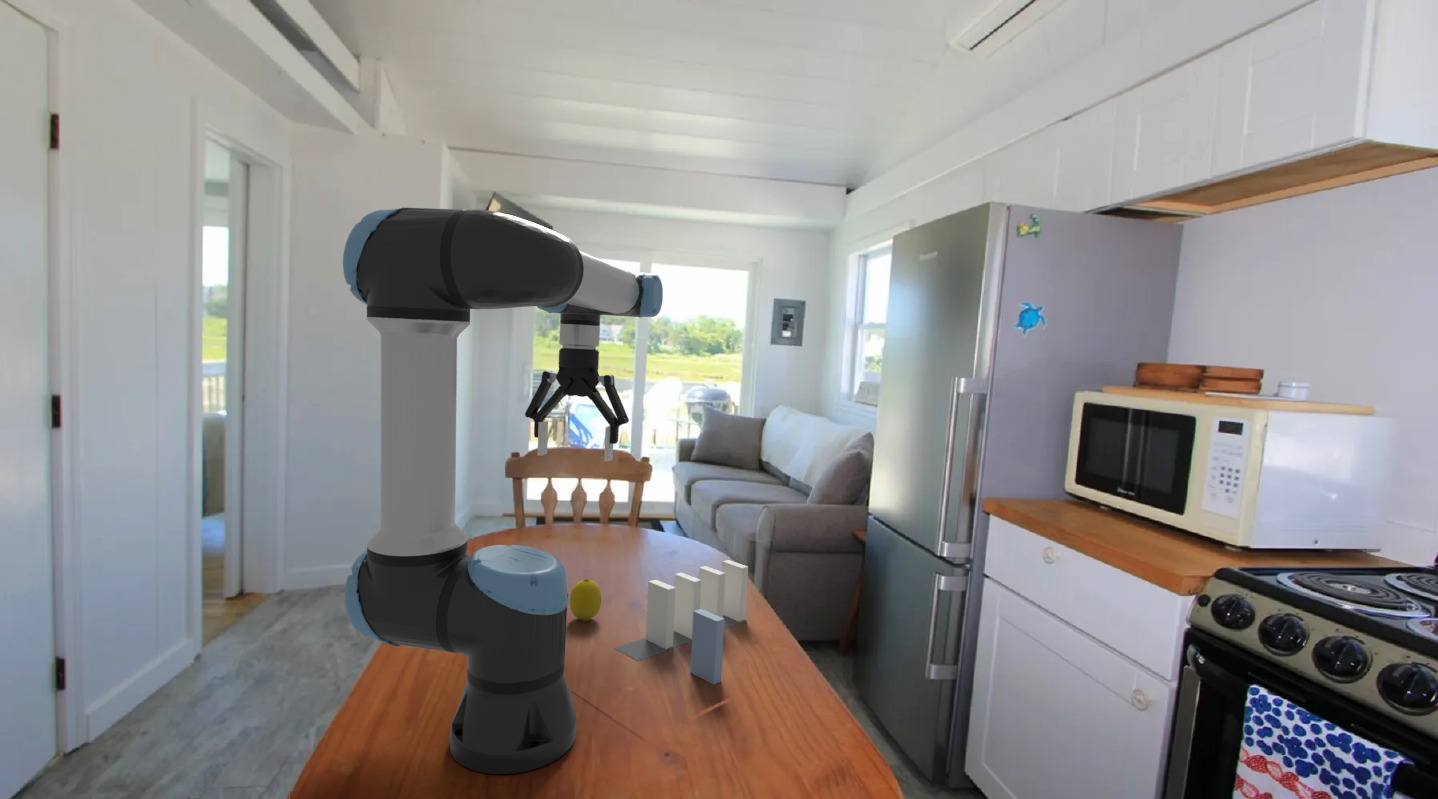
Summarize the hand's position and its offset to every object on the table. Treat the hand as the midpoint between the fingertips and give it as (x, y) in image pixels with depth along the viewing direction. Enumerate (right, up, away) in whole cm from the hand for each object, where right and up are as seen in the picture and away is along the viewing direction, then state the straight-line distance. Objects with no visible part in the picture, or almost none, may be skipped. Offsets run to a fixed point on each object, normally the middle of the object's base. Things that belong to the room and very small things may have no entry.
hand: (575, 457), depth 134 cm
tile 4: (+26, -29, -10) cm, 40 cm away
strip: (+22, -30, -14) cm, 40 cm away
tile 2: (+18, -29, -18) cm, 39 cm away
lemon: (+4, -29, -10) cm, 31 cm away
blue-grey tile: (+26, -31, -29) cm, 50 cm away
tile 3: (+22, -29, -14) cm, 39 cm away
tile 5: (+30, -29, -5) cm, 42 cm away
